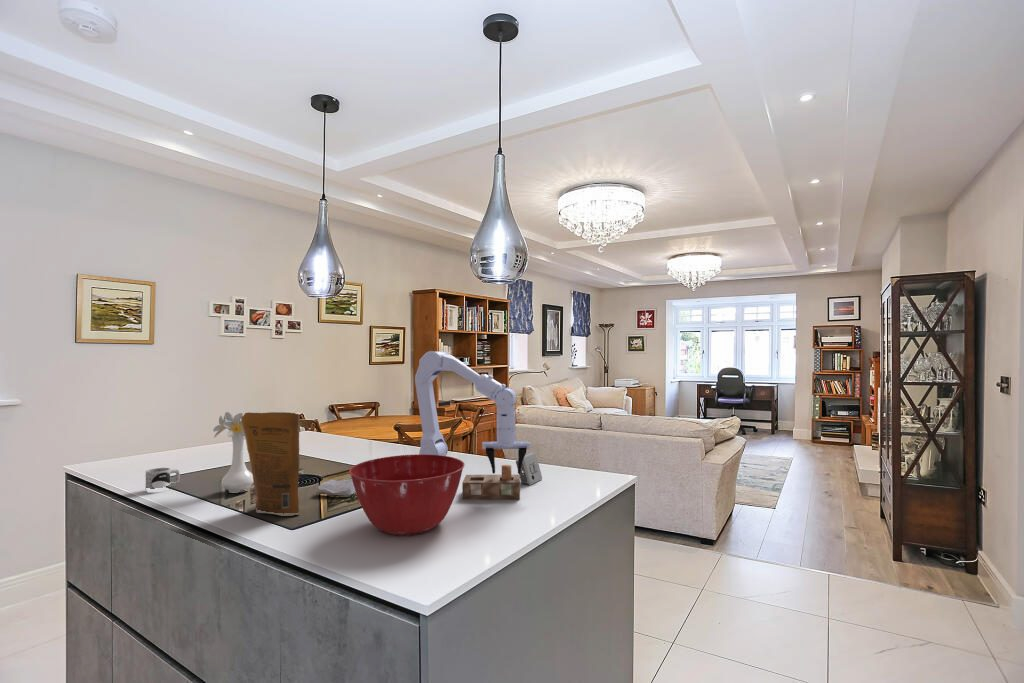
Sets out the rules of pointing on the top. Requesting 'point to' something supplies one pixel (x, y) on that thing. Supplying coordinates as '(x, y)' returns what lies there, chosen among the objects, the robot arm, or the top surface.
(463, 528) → the top surface
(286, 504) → the pancake mix bag
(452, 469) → the mixing bowl
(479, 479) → the socket block
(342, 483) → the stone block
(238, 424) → the flower vase
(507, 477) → the peg
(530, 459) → the electrical switch
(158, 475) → the mug
